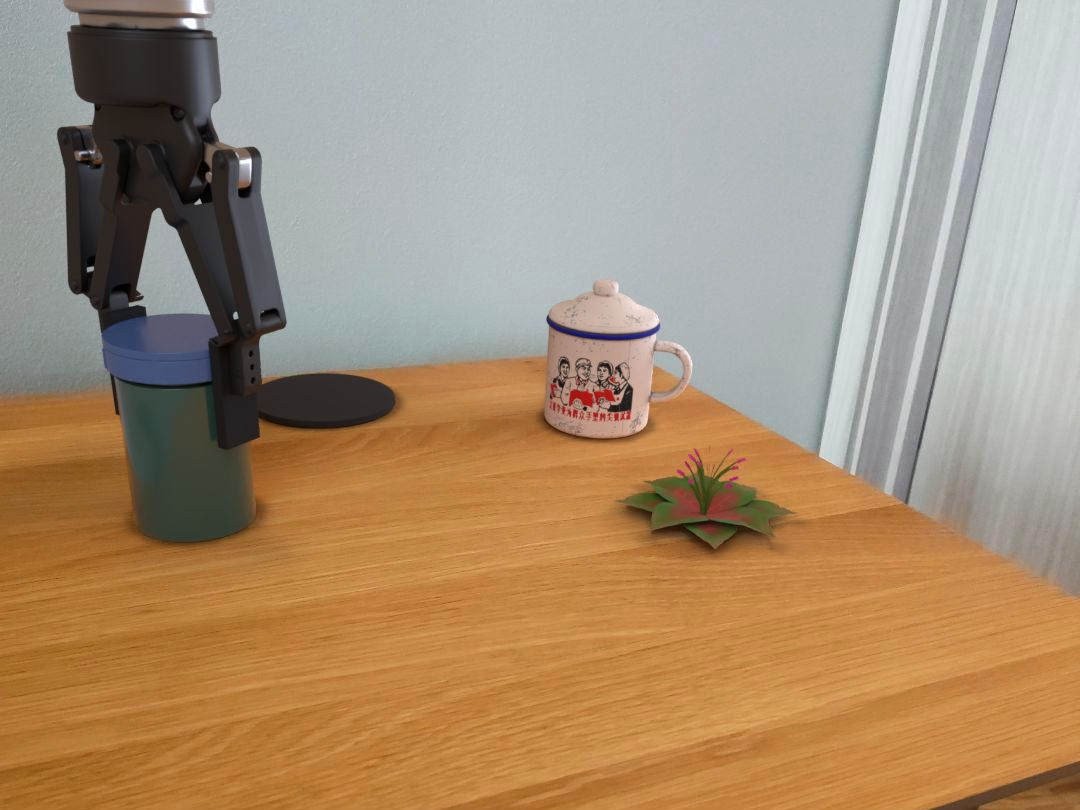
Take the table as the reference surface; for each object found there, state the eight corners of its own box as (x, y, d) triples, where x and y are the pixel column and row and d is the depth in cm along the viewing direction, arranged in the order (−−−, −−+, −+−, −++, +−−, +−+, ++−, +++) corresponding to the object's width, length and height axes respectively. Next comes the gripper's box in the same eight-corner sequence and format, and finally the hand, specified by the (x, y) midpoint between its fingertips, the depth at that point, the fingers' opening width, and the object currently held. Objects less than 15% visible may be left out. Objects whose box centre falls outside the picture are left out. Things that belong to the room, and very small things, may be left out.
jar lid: (117, 392, 59) (112, 359, 58) (94, 350, 66) (89, 319, 65) (267, 375, 63) (264, 344, 62) (231, 337, 69) (229, 308, 69)
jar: (110, 515, 68) (84, 342, 63) (210, 482, 74) (194, 320, 69) (179, 554, 64) (158, 373, 59) (280, 516, 70) (268, 346, 64)
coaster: (219, 401, 88) (218, 394, 88) (330, 370, 97) (330, 364, 96) (314, 440, 82) (313, 432, 81) (424, 403, 90) (424, 396, 90)
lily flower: (581, 508, 73) (585, 446, 71) (694, 467, 80) (701, 410, 78) (717, 575, 65) (726, 508, 63) (828, 523, 73) (839, 462, 71)
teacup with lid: (529, 432, 85) (536, 288, 80) (553, 397, 93) (561, 263, 88) (678, 452, 83) (695, 305, 78) (690, 414, 91) (706, 278, 86)
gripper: (-47, 11, 58) (25, 405, 68) (234, 33, 48) (269, 487, 59) (71, 13, 64) (121, 376, 74) (343, 34, 54) (357, 447, 64)
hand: (186, 425), depth 66 cm, fingers closed on jar lid, 8 cm apart
